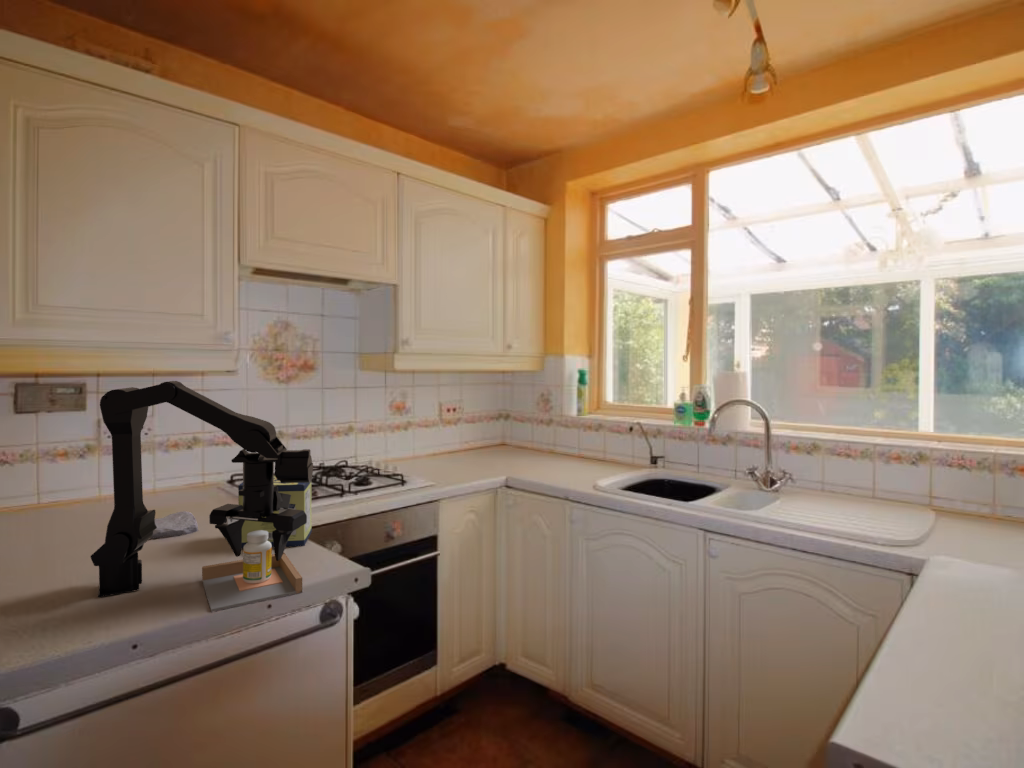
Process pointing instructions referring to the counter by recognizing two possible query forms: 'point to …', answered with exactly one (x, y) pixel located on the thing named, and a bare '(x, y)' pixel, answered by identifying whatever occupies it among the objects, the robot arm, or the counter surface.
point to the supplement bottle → (257, 557)
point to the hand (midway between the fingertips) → (258, 558)
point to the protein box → (297, 502)
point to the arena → (232, 591)
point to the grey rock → (175, 525)
